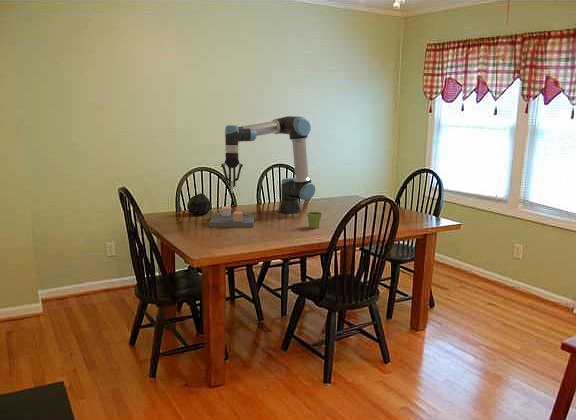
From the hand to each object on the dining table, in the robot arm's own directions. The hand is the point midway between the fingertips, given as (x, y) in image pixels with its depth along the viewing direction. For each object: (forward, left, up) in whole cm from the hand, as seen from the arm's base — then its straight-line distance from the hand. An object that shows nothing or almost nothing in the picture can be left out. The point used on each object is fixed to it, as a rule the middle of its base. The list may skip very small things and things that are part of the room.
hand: (232, 192), depth 297 cm
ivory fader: (+5, -14, -17) cm, 23 cm away
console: (0, -7, -20) cm, 22 cm away
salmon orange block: (-3, +1, -17) cm, 17 cm away
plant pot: (-49, +4, -21) cm, 53 cm away
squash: (+23, -32, -21) cm, 45 cm away
